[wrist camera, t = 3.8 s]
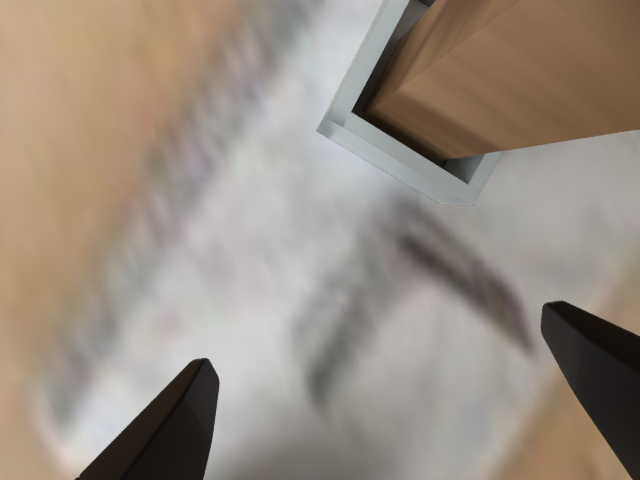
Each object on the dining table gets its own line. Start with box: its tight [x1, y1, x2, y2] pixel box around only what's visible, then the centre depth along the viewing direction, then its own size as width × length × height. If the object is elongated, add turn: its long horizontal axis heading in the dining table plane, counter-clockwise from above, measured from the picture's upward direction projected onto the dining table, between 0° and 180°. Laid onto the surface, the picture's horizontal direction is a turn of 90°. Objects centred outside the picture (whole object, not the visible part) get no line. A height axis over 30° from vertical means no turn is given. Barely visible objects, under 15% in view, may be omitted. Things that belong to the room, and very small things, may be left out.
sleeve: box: [317, 0, 503, 206], centre depth 18 cm, size 16×9×4 cm, turn 151°
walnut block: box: [360, 0, 640, 162], centre depth 14 cm, size 5×5×13 cm
